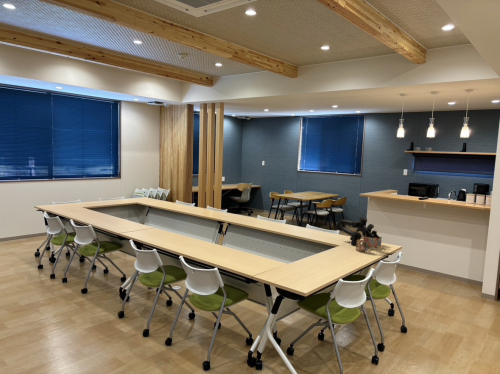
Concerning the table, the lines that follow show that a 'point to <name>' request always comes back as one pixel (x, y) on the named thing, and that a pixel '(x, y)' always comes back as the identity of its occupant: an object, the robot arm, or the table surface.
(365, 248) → the open wooden box
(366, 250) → the dock
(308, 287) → the table surface
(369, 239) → the stack of blocks
